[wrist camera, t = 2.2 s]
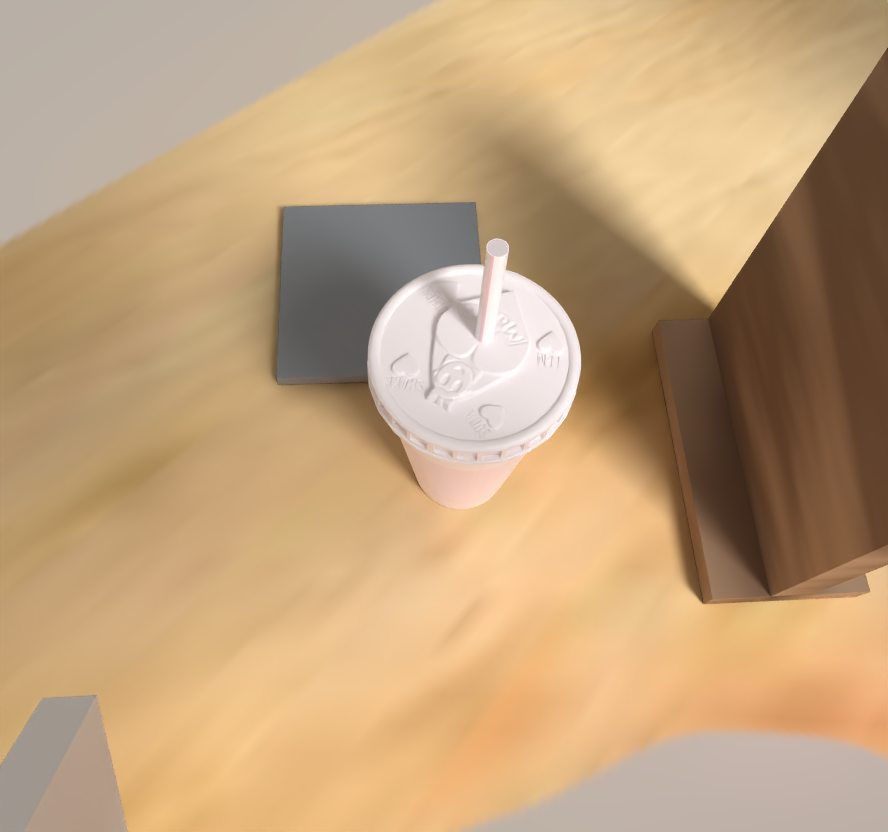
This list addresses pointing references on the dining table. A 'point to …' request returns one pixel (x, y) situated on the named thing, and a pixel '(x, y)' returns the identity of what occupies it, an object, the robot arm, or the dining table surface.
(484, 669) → the dining table surface
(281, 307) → the coaster
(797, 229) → the screen
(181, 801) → the dining table surface
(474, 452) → the smoothie
